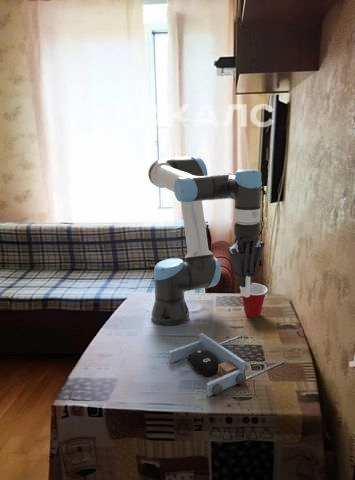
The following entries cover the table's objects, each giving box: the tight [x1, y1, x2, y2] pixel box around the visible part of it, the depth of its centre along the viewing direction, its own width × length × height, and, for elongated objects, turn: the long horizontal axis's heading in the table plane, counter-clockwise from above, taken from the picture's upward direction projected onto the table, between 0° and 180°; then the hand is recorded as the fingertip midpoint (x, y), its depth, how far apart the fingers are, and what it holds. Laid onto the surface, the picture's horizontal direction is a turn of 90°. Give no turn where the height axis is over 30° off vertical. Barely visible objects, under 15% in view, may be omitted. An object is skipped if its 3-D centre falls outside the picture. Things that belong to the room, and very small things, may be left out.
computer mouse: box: [187, 351, 219, 378], centre depth 115 cm, size 8×12×4 cm, turn 20°
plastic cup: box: [239, 282, 269, 319], centre depth 147 cm, size 11×11×12 cm
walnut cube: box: [217, 361, 238, 378], centre depth 108 cm, size 4×4×4 cm
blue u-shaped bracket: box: [168, 332, 247, 397], centre depth 112 cm, size 23×13×6 cm, turn 32°
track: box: [170, 334, 286, 397], centre depth 117 cm, size 21×30×1 cm
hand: (245, 295), depth 116 cm, fingers closed
